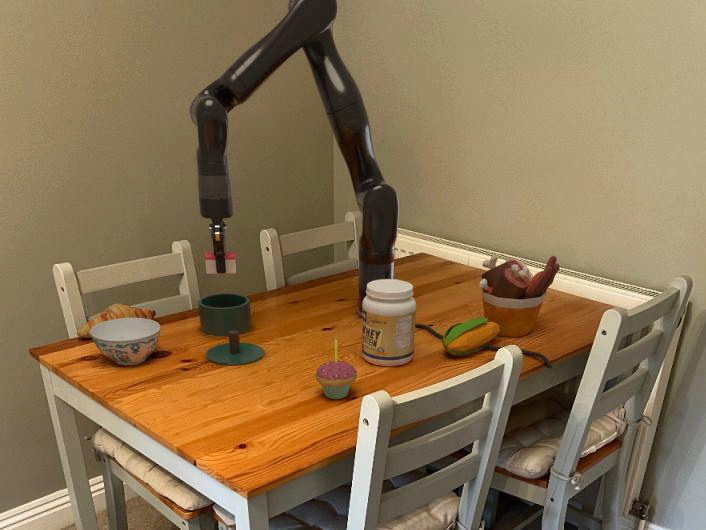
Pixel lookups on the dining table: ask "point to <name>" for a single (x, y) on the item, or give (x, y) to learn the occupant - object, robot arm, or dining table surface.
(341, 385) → the cupcake
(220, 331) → the pot
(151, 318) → the croissant
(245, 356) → the lid
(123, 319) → the chinaware
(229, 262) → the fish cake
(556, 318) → the dining table surface
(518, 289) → the bucket of meat
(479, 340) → the corn
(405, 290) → the supplement tub
